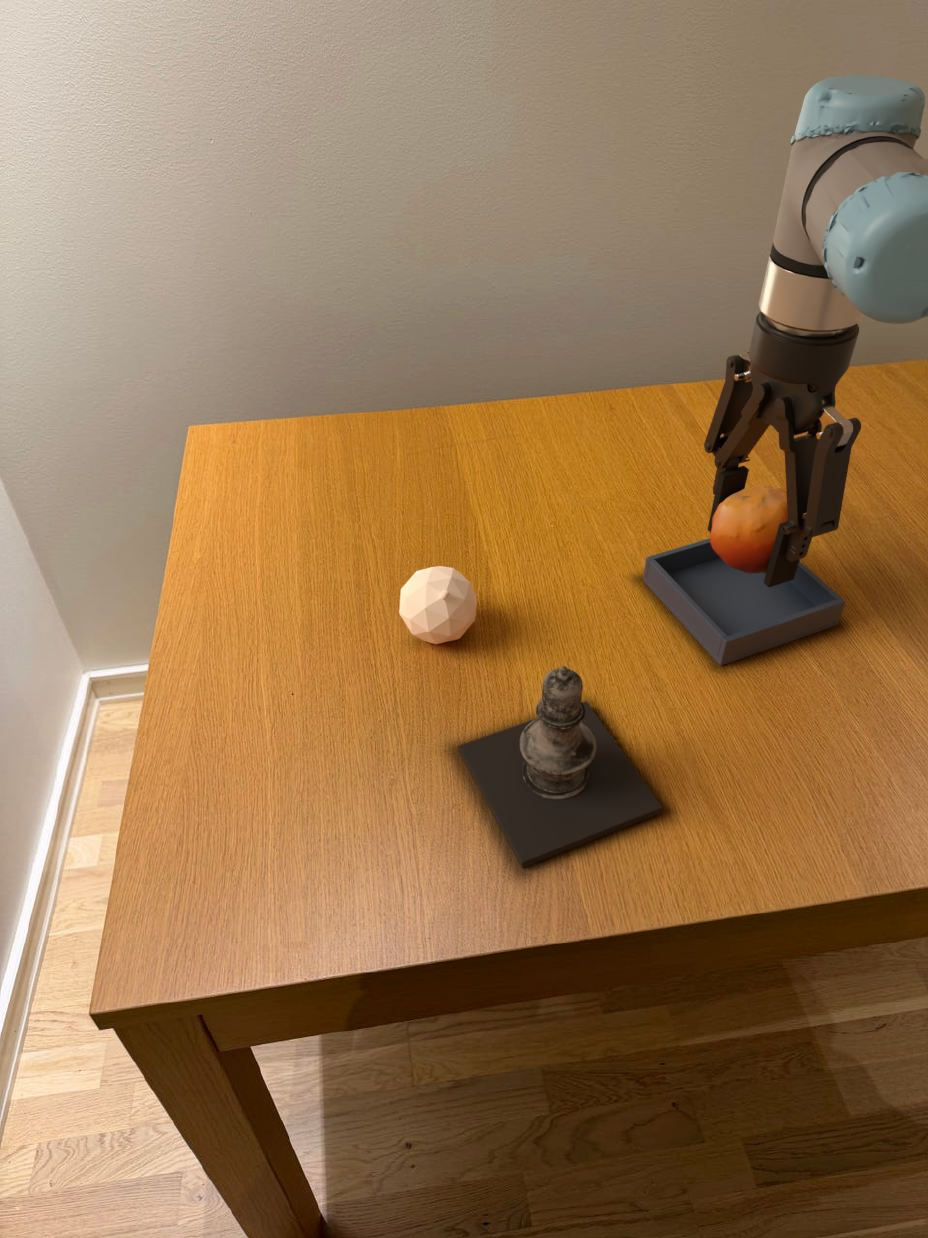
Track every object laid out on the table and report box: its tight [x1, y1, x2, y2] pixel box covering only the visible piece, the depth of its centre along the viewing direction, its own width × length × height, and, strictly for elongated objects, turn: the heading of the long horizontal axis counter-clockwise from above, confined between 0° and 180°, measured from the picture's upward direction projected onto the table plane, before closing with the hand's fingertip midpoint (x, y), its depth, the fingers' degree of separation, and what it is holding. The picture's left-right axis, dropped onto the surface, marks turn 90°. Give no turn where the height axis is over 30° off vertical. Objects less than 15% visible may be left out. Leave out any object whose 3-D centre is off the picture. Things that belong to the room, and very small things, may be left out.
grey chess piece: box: [520, 665, 596, 800], centre depth 66 cm, size 6×6×12 cm
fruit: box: [709, 485, 788, 573], centre depth 80 cm, size 8×8×8 cm
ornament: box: [398, 565, 478, 645], centre depth 81 cm, size 7×7×8 cm
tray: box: [642, 537, 847, 667], centre depth 85 cm, size 13×13×3 cm
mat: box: [457, 701, 663, 869], centre depth 71 cm, size 12×12×1 cm
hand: (749, 553), depth 82 cm, fingers closed on fruit, 8 cm apart
